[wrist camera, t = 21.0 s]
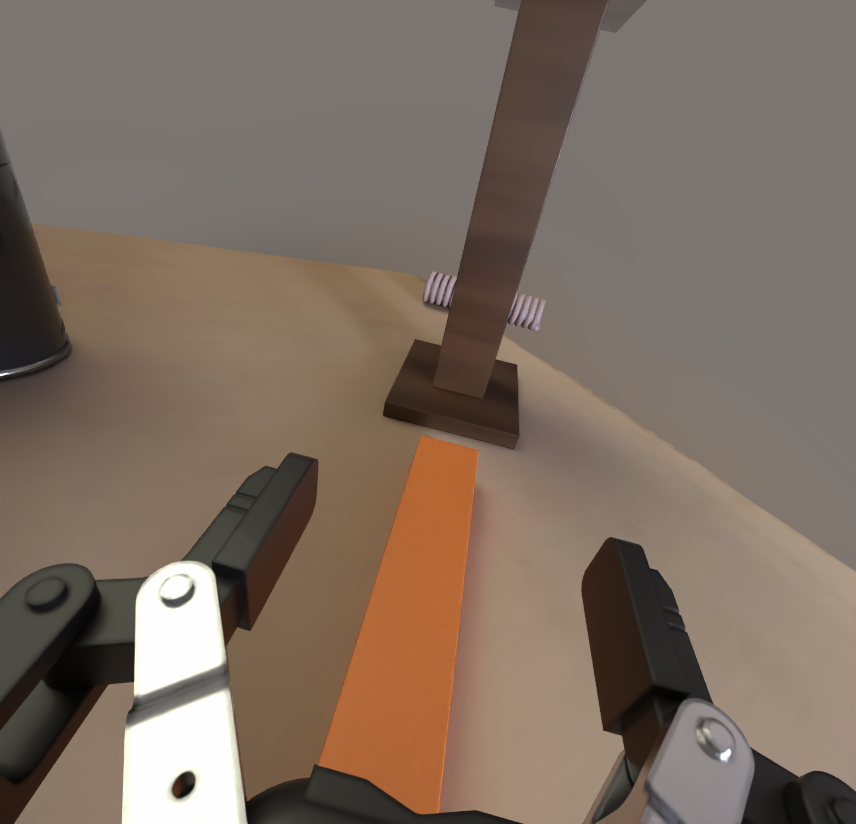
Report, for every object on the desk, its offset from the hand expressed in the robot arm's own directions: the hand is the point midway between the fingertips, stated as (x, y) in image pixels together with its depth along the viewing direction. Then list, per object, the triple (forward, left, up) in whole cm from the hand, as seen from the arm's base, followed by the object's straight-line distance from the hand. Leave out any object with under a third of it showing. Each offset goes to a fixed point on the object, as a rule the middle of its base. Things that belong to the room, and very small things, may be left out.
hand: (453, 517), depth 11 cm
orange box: (+4, +2, -13) cm, 14 cm away
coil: (+46, +26, -13) cm, 55 cm away
